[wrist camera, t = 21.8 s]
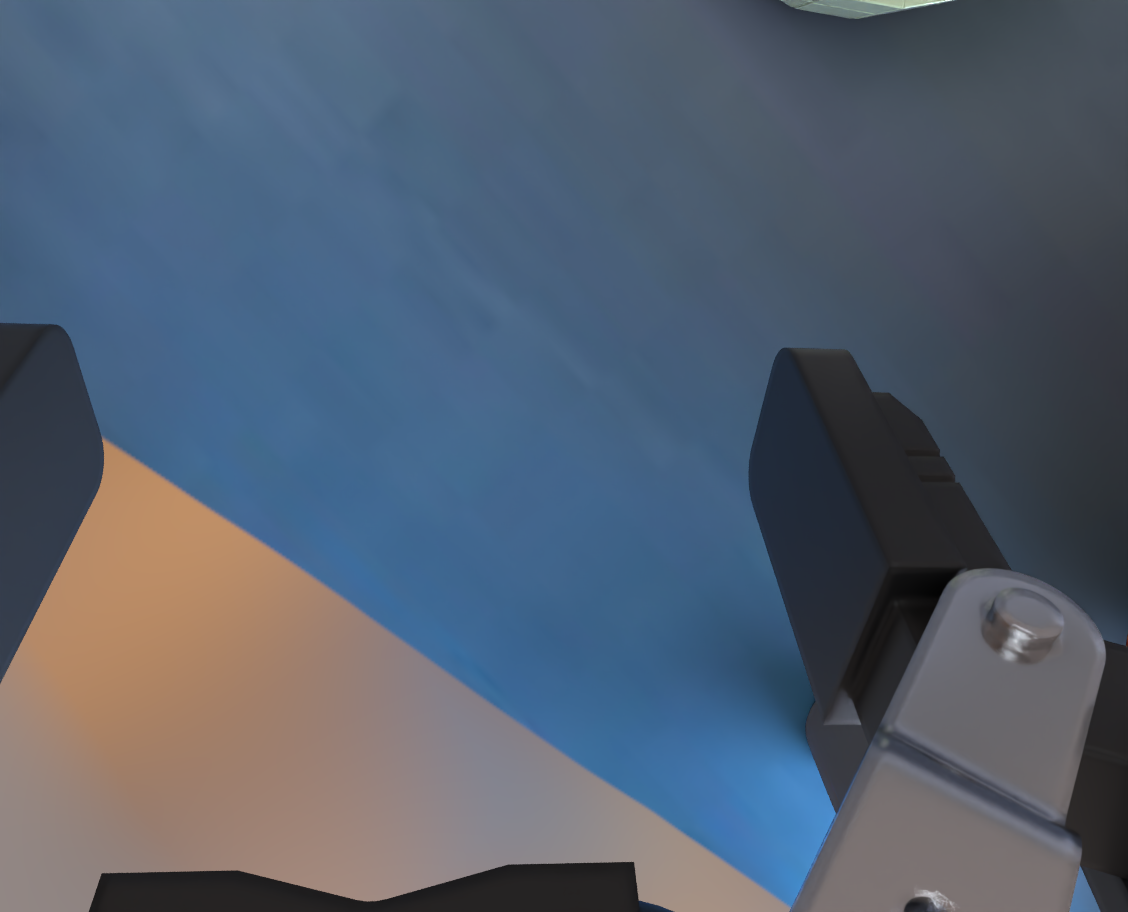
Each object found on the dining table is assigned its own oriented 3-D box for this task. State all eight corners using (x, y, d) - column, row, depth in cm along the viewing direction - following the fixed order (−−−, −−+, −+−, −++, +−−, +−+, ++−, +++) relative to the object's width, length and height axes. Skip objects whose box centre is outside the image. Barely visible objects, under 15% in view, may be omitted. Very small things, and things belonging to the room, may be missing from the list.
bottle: (782, 746, 47) (887, 1028, 33) (842, 657, 45) (979, 916, 31) (880, 782, 48) (1021, 1070, 34) (942, 696, 46) (1119, 964, 32)
